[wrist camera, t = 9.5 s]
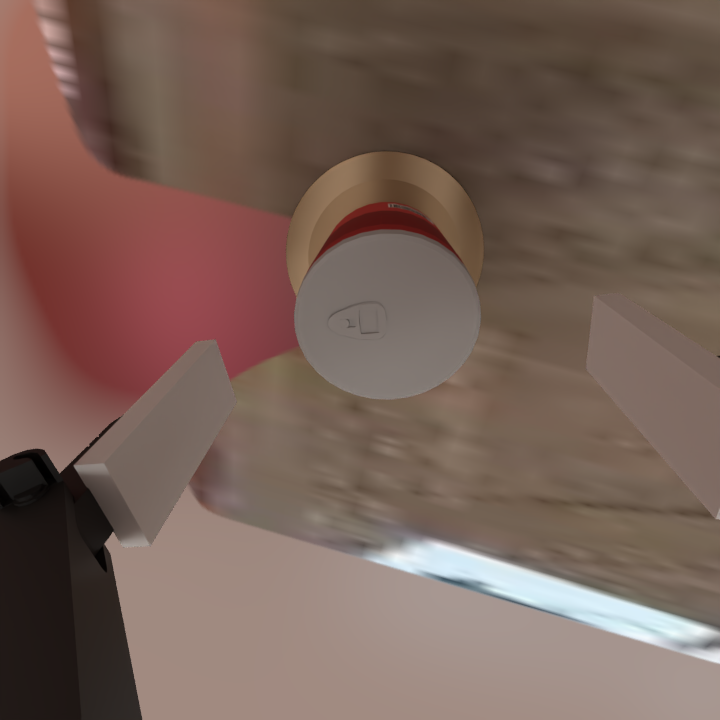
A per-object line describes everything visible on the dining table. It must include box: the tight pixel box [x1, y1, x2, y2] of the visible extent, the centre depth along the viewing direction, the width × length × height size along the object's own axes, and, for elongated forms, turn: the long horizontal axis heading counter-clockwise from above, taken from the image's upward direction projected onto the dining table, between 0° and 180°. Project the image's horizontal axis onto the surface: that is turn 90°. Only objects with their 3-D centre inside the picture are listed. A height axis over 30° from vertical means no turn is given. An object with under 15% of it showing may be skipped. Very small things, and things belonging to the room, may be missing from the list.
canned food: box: [294, 202, 481, 399], centre depth 22 cm, size 8×8×11 cm
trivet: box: [286, 151, 484, 297], centre depth 27 cm, size 13×13×1 cm
